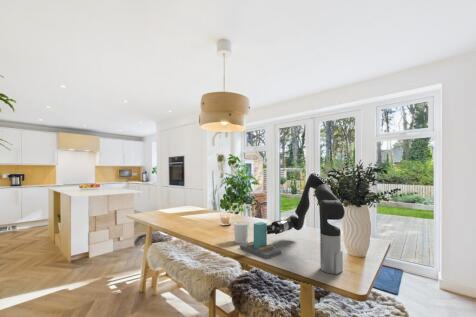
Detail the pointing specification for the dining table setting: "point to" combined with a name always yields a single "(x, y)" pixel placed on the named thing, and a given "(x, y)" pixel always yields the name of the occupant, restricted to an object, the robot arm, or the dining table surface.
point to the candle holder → (241, 232)
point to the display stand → (261, 250)
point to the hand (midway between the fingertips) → (262, 231)
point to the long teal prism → (260, 235)
